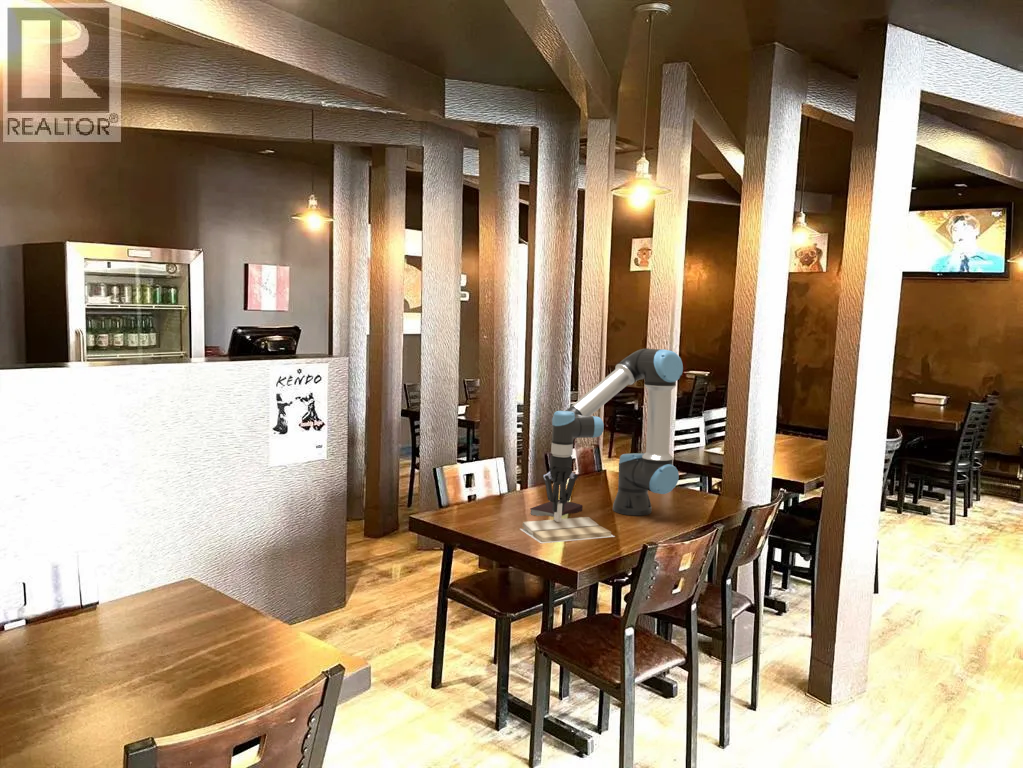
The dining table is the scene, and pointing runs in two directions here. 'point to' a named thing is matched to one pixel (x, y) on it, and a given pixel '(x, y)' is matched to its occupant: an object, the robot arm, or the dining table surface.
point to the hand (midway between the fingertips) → (557, 520)
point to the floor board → (558, 541)
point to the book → (547, 510)
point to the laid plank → (571, 534)
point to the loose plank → (558, 524)
